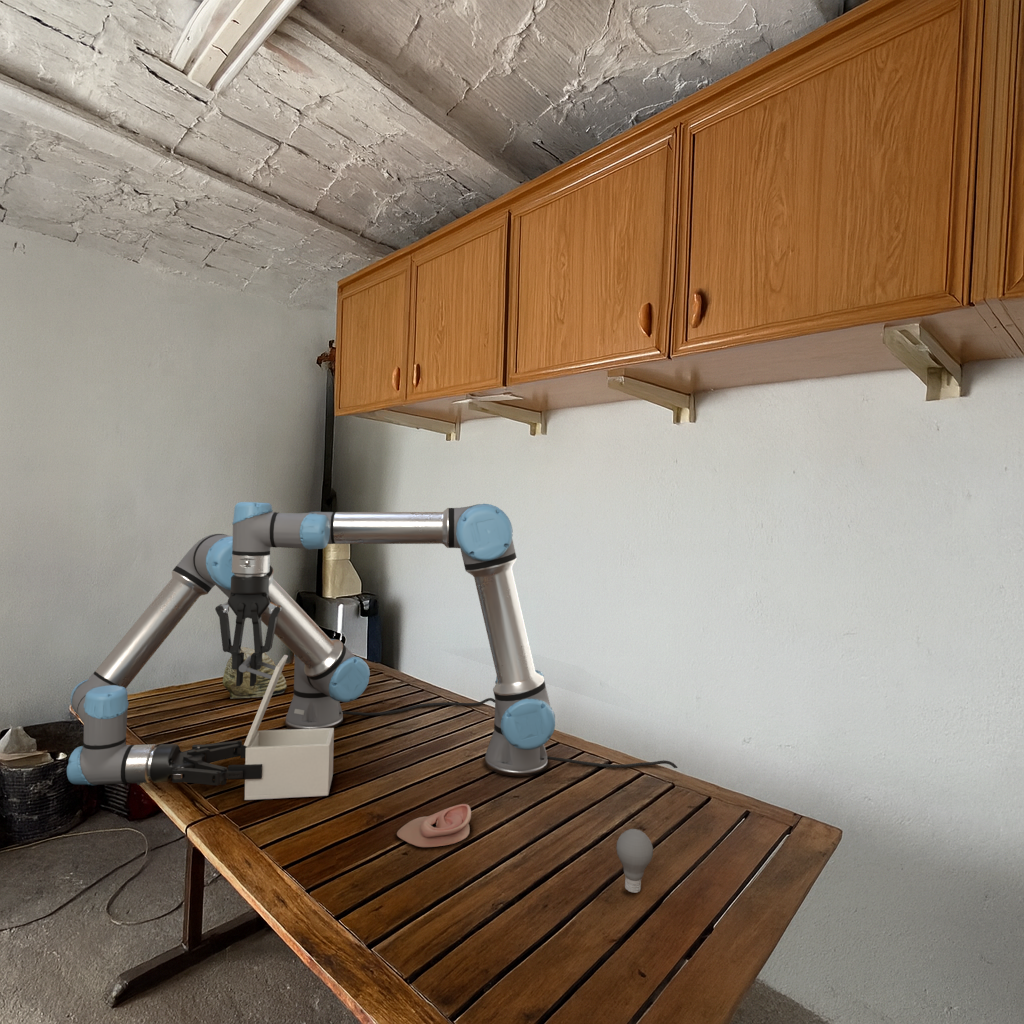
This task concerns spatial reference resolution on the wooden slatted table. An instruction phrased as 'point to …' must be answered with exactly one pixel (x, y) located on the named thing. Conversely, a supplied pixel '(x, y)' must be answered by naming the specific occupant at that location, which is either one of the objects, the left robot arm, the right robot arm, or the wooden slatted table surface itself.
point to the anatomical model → (438, 827)
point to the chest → (291, 763)
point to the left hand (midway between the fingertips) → (267, 760)
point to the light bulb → (634, 857)
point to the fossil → (245, 687)
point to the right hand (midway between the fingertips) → (246, 684)
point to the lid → (268, 693)
